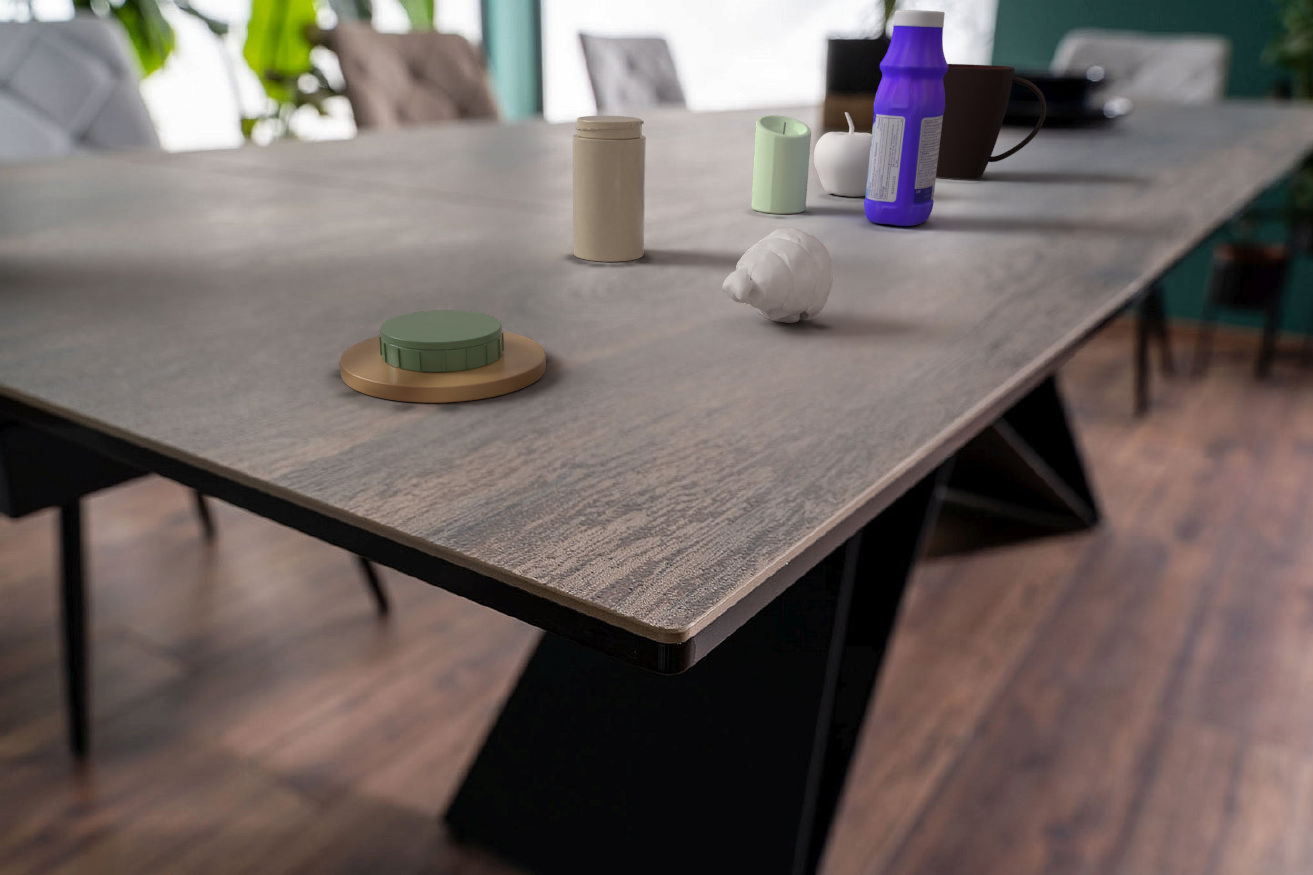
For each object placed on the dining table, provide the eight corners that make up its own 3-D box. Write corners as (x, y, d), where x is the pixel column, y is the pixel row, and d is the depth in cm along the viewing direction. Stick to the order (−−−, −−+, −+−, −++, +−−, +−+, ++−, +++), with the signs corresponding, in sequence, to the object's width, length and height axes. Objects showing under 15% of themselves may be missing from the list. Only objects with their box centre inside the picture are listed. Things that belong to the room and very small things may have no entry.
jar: (574, 261, 77) (573, 121, 74) (572, 247, 82) (571, 114, 79) (646, 262, 78) (649, 122, 74) (640, 247, 83) (642, 115, 79)
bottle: (876, 212, 100) (896, 10, 93) (938, 218, 97) (962, 11, 91) (854, 224, 94) (873, 9, 87) (919, 231, 91) (944, 10, 85)
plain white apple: (816, 187, 113) (822, 108, 110) (884, 191, 112) (892, 111, 109) (806, 197, 107) (812, 113, 104) (878, 202, 105) (887, 117, 102)
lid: (527, 356, 53) (526, 326, 53) (426, 381, 49) (424, 350, 49) (457, 331, 57) (455, 303, 57) (358, 352, 53) (356, 323, 53)
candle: (815, 212, 99) (822, 119, 96) (766, 215, 97) (772, 120, 94) (789, 204, 103) (795, 114, 100) (742, 206, 101) (746, 115, 98)
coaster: (315, 400, 49) (313, 384, 49) (369, 338, 58) (368, 324, 58) (535, 405, 49) (535, 388, 49) (554, 342, 58) (553, 328, 58)
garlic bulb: (697, 322, 63) (700, 229, 61) (769, 307, 66) (775, 218, 64) (763, 344, 59) (769, 245, 57) (836, 327, 63) (845, 233, 61)
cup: (915, 168, 130) (927, 62, 126) (1036, 175, 126) (1052, 67, 121) (905, 178, 121) (918, 65, 117) (1035, 187, 117) (1052, 71, 113)
